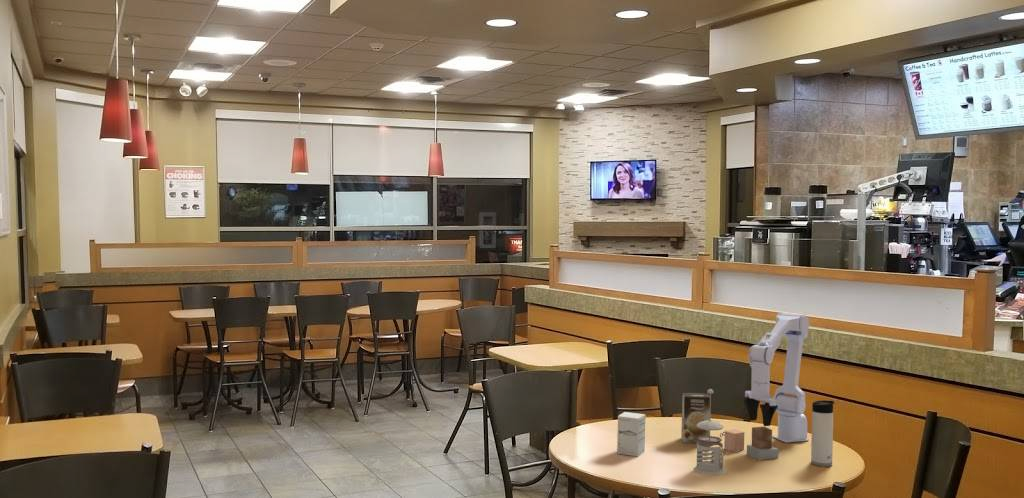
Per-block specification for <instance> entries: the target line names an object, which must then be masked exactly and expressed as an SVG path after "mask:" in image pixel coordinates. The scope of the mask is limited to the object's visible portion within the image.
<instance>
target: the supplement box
mask: <svg viewBox="0 0 1024 498" xmlns="http://www.w3.org/2000/svg"><path fill="white" fill-rule="evenodd" d="M646 416H647V415H646V414H644V413H636V412H628V411H624V412H622V413H620V414H619V415H618V416H617V435H616V436H617V441H616V443H617V445H616V447H617V448H616V450H617V451H616V454H617V455H626V456H630V457H631V456H632V457H638V458H639V456H641V455H643V454H644V453H645V450H646V449H645V448H646Z"/></svg>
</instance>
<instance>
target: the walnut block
mask: <svg viewBox="0 0 1024 498" xmlns="http://www.w3.org/2000/svg"><path fill="white" fill-rule="evenodd" d="M772 436H773V429H771V428H769V427H767V426H764V425H763V426H755V427H754V426H753V427H751V445H752V446H753V447H756V448H758V449H769V448H772V446H773V437H772Z"/></svg>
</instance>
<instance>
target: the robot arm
mask: <svg viewBox="0 0 1024 498" xmlns="http://www.w3.org/2000/svg"><path fill="white" fill-rule="evenodd" d="M809 329H810V320H809V316H808V315H807V314H806V313H792V312H782V311H779V312H778V313H777V314H776V317H775V325H774V327H773V328H772V330H771V331H770V332H766V333H765V334H764V336H763V337H762V338H761V339H760V340H759V342H758V343H757V344H754V345H751V347H750V348H749V350H748V355H747V356H748V360H749V366H750V368H751V383H750V384H751V386H750V387H751V388H750V390H745V391H744V397H745V398H744V399H743V400H742V401H743V402H744V405H745V407H746V410H747V414H748V417H749V418H748V419H749V421H752V422H753V421H757V418H758V409H759V408H760V411H761V414H762V424H763V426H764V427H771V423H772V422H773V421H772V420H773V417H774V414H775V413H776V414H777V435H772V438H774V439H777V440H778V441H781V442H784V443H786V444H787V443H796V442H806V441H807V442H808V441H809V438H808V420H807V416H806V415H805V414H804V412H805V410H806V407H807V406H806V405H807V403H806V393H805V392H804V391H803V390H802V388H800V387H799V379H800V373H801V372H800V371H801V363H802V361H801V360H802V355H803V344H804V340H805V339H808V336H809ZM783 337H785V338H786V339H787V347H786V356H785V365H784V372H783V373H784V376H783V384H782V385H780V386H779V387H777V388H776V389H775V392H774V396H773V397H772V396H771V395H770V390H771V389H770V384H771V383H770V381H771V380H770V377H771V376H770V375H771V374H770V373H771V371H770V369H771V363H772V362H773V361H774V360H773V359H774V356H775V354H776V353H775V352H776V351H777V349H778V348H779V347H780V345H781V339H782V338H783ZM761 402H762V404H760V403H761Z"/></svg>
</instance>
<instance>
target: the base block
mask: <svg viewBox="0 0 1024 498" xmlns="http://www.w3.org/2000/svg"><path fill="white" fill-rule="evenodd" d="M746 455H748V456H750V457H751V458H753V459H756V460H759V461H764V460H774V459H779V448H777V447H774V446H773V445H772V448H769V449H758V448H756V447H753V446H752V444H746Z"/></svg>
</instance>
